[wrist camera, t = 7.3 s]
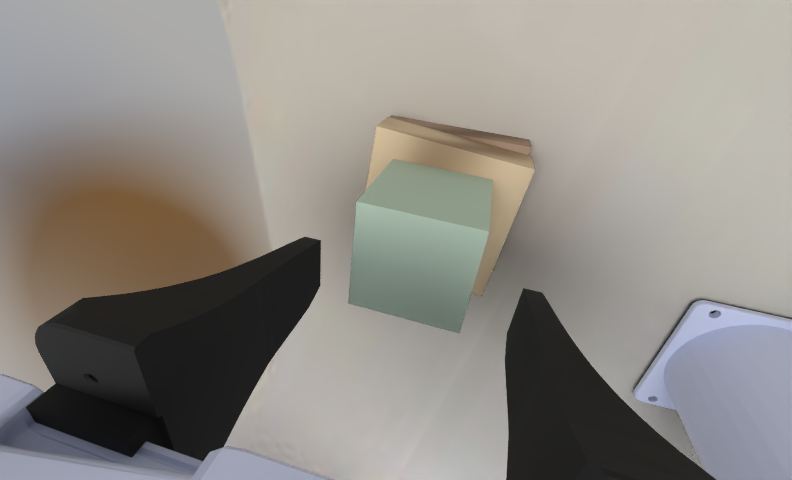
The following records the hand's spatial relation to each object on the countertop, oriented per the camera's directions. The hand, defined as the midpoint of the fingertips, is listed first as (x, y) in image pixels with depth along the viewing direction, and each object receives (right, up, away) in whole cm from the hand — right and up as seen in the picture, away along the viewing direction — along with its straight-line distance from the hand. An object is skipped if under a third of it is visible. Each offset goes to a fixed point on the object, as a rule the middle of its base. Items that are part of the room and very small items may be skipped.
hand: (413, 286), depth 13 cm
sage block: (+1, +3, +5) cm, 6 cm away
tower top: (+2, +4, +6) cm, 8 cm away
